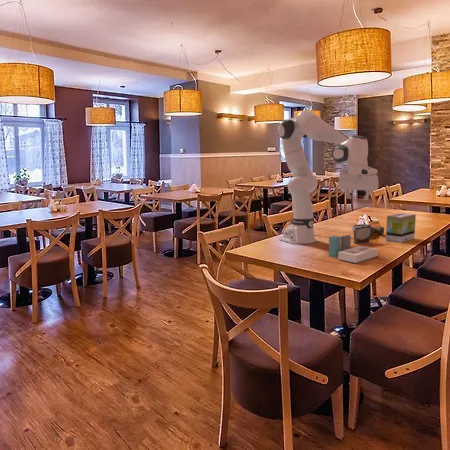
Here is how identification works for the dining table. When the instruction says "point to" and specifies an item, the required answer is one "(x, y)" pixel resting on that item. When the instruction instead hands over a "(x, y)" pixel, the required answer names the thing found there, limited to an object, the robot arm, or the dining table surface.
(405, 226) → the tea box
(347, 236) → the flat tab
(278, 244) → the dining table surface
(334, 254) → the square peg
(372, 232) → the kendama
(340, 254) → the socket block
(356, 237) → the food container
